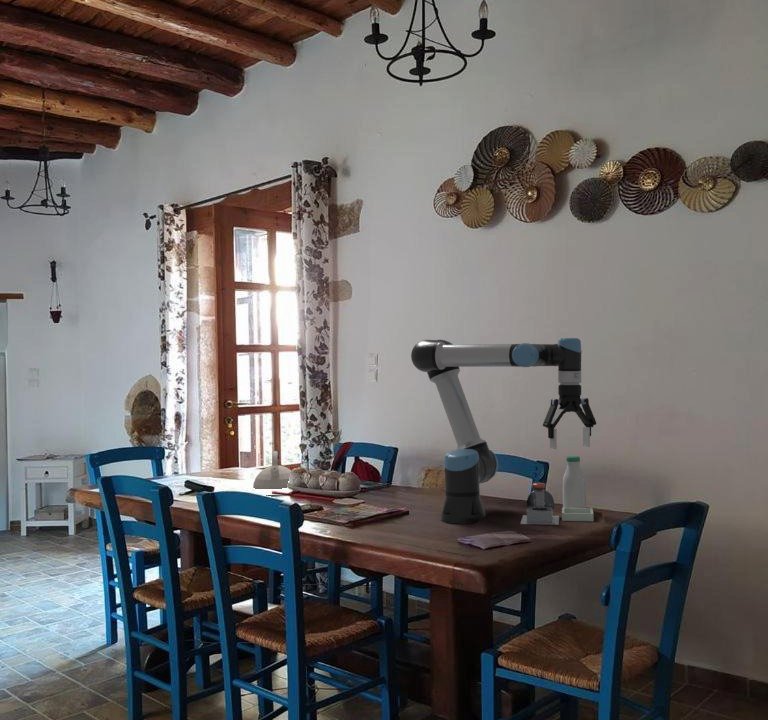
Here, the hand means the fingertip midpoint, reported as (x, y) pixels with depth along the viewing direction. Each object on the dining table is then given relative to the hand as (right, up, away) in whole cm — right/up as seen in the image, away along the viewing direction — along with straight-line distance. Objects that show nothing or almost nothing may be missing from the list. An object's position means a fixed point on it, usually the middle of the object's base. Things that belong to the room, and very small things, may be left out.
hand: (569, 447), depth 268 cm
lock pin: (-11, -23, -7) cm, 27 cm away
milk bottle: (+4, -24, +10) cm, 27 cm away
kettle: (-109, -28, +77) cm, 137 cm away
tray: (+2, -24, -4) cm, 24 cm away
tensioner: (-11, -25, -5) cm, 27 cm away
